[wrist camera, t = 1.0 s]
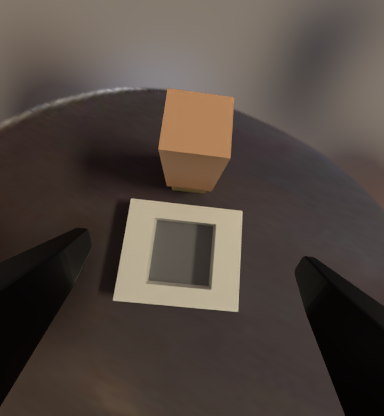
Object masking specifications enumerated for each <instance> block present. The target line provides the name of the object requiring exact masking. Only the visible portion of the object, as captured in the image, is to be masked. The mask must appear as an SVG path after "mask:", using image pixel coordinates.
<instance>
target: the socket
mask: <svg viewBox="0 0 384 416" xmlns="http://www.w3.org/2000/svg"><path fill="white" fill-rule="evenodd" d="M242 212H243V211H238V210H229V209H220V208H211V207H202V206H193V205H184V204H176V203H167V202H158V201H149V200H140V199H131V202H130V207H129V213H128V218H127V224H126V230H125V235H124V241H123V246H122V252H121V258H120V263H119V269H118V274H117V280H116V286H115V291H114V297H113V301H123V302H134V303H145V304H156V305H167V306H178V307H189V308H200V309H211V310H222V311H233V312H238V303H239V280H240V257H241V234H242Z"/></svg>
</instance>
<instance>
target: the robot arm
mask: <svg viewBox="0 0 384 416" xmlns="http://www.w3.org/2000/svg"><path fill="white" fill-rule="evenodd" d="M91 248H92V242H91V237H90V232H89V230H88V229H85V228H75V229H73V230H71V231H69V232H66V233H64V234H62V235H60V236H58V237H55V238H53V239H51V240H49V241H47V242H45V243H42V244H40V245H38V246H36V247H34V248H31V249H29V250H27V251H25V252H23V253H20V254H18V255H16V256H14V257H12V258H9V259H7V260H5V261H3V262H1V263H0V406H1V404H2V403H3V401H4V399H5V398H6V396H7V395H8V393H9V391H10V390H11V388H12V386H13V385H14V383H15V381H16V380H17V378H18V376H19V375H20V373H21V372H22V370H23V368H24V367H25V365H26V363H27V362H28V360H29V358H30V357H31V355H32V353H33V352H34V350H35V348H36V347H37V345H38V344H39V342H40V340H41V339H42V337H43V335H44V334H45V332H46V330H47V329H48V327H49V325H50V324H51V322H52V320H53V319H54V317H55V316H56V314H57V312H58V311H59V309H60V307H61V306H62V304H63V302H64V301H65V299H66V297H67V296H68V294H69V293H70V291H71V289H72V287H73V286H74V284H75V282H76V280H77V278H78V276H79V274H80V272H81V270H82V268H83V265H84V263H85V261H86V259H87V257H88V255H89V253H90V251H91ZM295 277H296V281H297V284H298V288H299V292H300V295H301V299H302V302H303V306H304V309H305V312H306V315H307V318H308V320H309V323H310V325H311V328H312V331H313V333H314V336H315V338H316V341H317V344H318V346H319V349H320V351H321V354H322V357H323V359H324V362H325V364H326V367H327V370H328V372H329V375H330V377H331V380H332V383H333V385H334V388H335V390H336V393H337V396H338V398H339V401H340V403H341V406H342V409H343V411H344V414H345V416H384V306H383V305H381V304H380V303H378V302H377V301H376V300H374V299H373V298H371V297H370V296H369V295H367V294H366V293H364V292H363V291H361V290H360V289H359V288H357V287H356V286H354V285H353V284H352V283H350V282H349V281H347V280H346V279H344V278H343V277H342V276H340V275H339V274H337V273H336V272H335V271H333V270H332V269H330V268H329V267H327V266H326V265H325V264H323V263H322V262H320V261H319V260H318V259H316V258H314V257H308V256H304V257H302V259H301V260H300V262H299V264H298V265H297V267H296V268H295Z"/></svg>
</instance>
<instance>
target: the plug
mask: <svg viewBox="0 0 384 416" xmlns="http://www.w3.org/2000/svg"><path fill="white" fill-rule="evenodd" d="M233 108H234V97H227V96H220V95H212V94H206V93H198V92H191V91H184V90H177V89H169V88H168V90H167V97H166V103H165V109H164V116H163V122H162V129H161V135H160V142H159V148H158V150H159V154H160V159H161V163H162V167H163V172H164V176H165V180H166V185H167V186H170V187H172V190H176V191H185V192H193V193H202V194H205V193H206V191H212V190H213V188H214V186H215V184H216V183H217V181H218V179H219V177H220V176H221V174H222V172H223V170H224V169H225V167H226V165H227V163H228V162H229V160H230V156H231V140H232V124H233Z"/></svg>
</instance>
